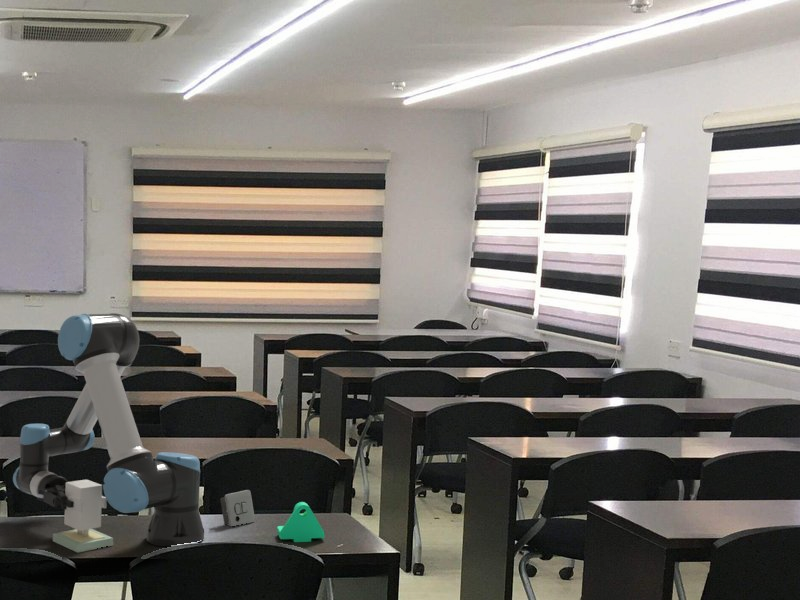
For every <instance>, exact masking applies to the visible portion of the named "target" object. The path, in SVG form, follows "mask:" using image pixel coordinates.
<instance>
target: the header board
mask: <svg viewBox="0 0 800 600" xmlns="http://www.w3.org/2000/svg"><path fill="white" fill-rule="evenodd" d="M52 542H54V543H56V544H58V545H59V546H63V547H65V548H67V549H69V550H70V551H73V552H75V553H83V552H88V551H92V550H97V548H98V549H102V548H101V547H103V548H107V547H106V546H108V547H111V546H114V537H111V536H109V535H107V534H105V533H102V532H101V531H98V530H96V529H94V528H93V529H87V530H82V531H79V530H77V529H71V530H65V531H60V532H54V533H52Z"/></svg>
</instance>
